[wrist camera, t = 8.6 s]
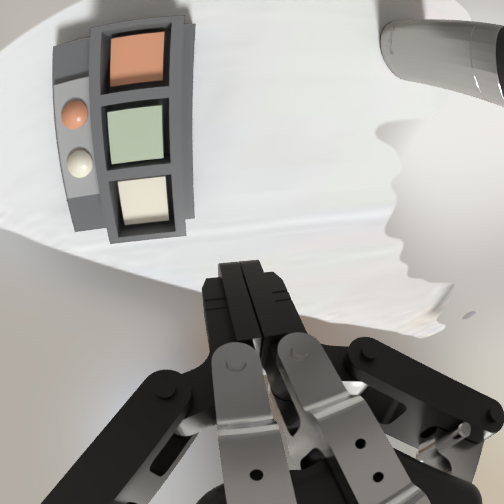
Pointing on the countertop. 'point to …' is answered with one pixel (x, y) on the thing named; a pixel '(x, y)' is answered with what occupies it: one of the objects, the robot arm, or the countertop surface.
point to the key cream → (144, 199)
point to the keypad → (97, 135)
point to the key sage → (136, 133)
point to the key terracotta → (137, 59)
